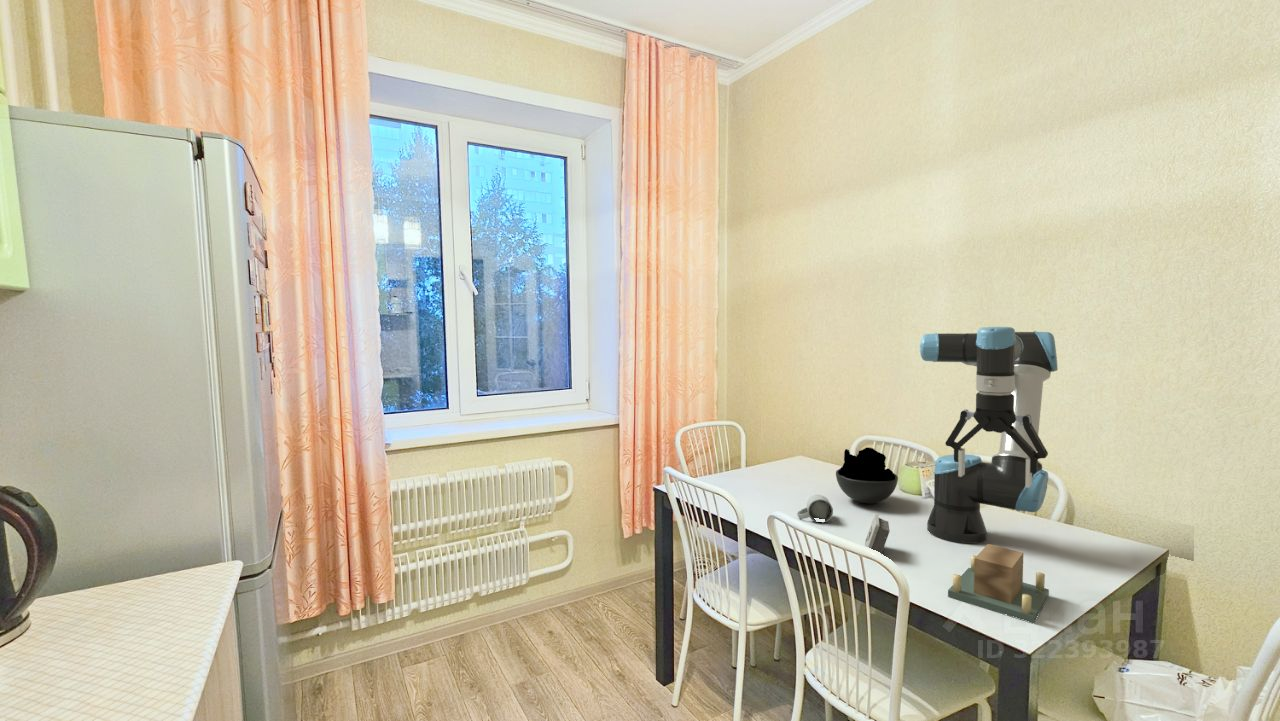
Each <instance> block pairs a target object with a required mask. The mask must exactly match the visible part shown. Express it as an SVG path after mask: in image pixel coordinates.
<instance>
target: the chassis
mask: <svg viewBox="0 0 1280 721" xmlns="http://www.w3.org/2000/svg"><path fill="white" fill-rule="evenodd" d="M976 556H977V555H974V554H972V555H971V556H970V567H968V568H967V569H966V570H965V571H964V572H963V573H962V574H961V575H960V574H957V573H955V574H952V585H951V586H950V587H949V588H948V590H947V597H948V598H951V599H955V600H958V601H959V602H963V603H966V604H970V605H972V606H977V607H980V608H983V609H986V610H990V611H992V612H994V613H995V612H996V613H999V614H1002V615H1005V614H1007V615H1006V616H1008V615H1010V616H1009V617H1011V616H1014V617H1017V618H1020V619H1019V620H1021V619H1024V620H1027V621H1029V622H1028V623H1030V622H1032V623H1031V624H1033V623H1034V622H1035V623H1036V621H1037V619H1038V617H1039V615H1040V613H1041V612H1042V610H1041V609H1043V608H1044V606H1045V604H1046V602H1047V600H1048V598H1049V596H1050V589H1049V588H1045V583H1046V582H1045V578H1046V574H1045V573H1044V572H1041V571H1040V572H1039V571H1036V572H1035V585H1034V584H1030V583H1027V582H1024V581H1023V587H1022V588H1021V590H1020V591H1019V593H1018V594H1017V596H1016V597H1015V599H1014V600H1013V602H1012V603H1011V604H1009V603H1006V602H1003V601H999V600H996V599H993V598H989V597H986V596H983V595H979V594H976V593H974V565H975V557H976ZM1045 601H1046V602H1045ZM1044 603H1045V604H1044ZM1043 605H1044V606H1043ZM1042 607H1043V608H1042ZM1038 614H1039V615H1038ZM1037 616H1038V617H1037ZM1014 617H1013V618H1014ZM1017 618H1016V619H1017ZM1036 618H1037V619H1036ZM1024 620H1023V621H1024ZM1035 620H1036V621H1035ZM1027 621H1026V622H1027ZM1035 623H1034V624H1035Z"/></svg>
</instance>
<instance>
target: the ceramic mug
mask: <svg viewBox="0 0 1280 721" xmlns="http://www.w3.org/2000/svg"><path fill="white" fill-rule="evenodd" d="M796 515H797V518H798V517H799V518H801V519H800V520H804V519H808V518H810V520H811V521H813V522H814V521H816V520H815V519H814V518H819V519H825V522H826V523H827V522H829V521H830V520H831V519H832V518H833V515H834V508H833V506H832V504H831V502H830V501H829V499H828V498H827V497H826V496H825V495H822V494H814V495H812V496H810V497H809V498H808V499H807V501H806V507H804V508H801V509H800V510H798V511H797V513H796ZM799 518H798V519H799Z"/></svg>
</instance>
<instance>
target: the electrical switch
mask: <svg viewBox="0 0 1280 721" xmlns="http://www.w3.org/2000/svg"><path fill="white" fill-rule="evenodd" d="M871 520H872V521H871V524H870V526H869V529H868V531H867V534H866V538H865V542H864V547H865V546H866V547H869V548H871V549H873V550H876V551H878V552H880V553H882V554H883V551H884V549H885V545H886V543H887V540H888V537H889V533H890V532H891V531H890V526H889V525H890V523H889V520H885V519H883V518H882V517H881V518H880V517H879V514H877V513H875V514H874V515H873V518H872V519H871Z"/></svg>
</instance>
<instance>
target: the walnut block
mask: <svg viewBox="0 0 1280 721" xmlns="http://www.w3.org/2000/svg"><path fill="white" fill-rule="evenodd" d="M975 556H976V557H975V565H974V593H976V594H979V595H983V596H986V597H989V598H993V599H996V600H999V601H1003V602H1006V603H1009V604H1011V603H1012V602H1013V600H1014V599H1015V597H1016V596H1017V594H1018V593H1019V591H1020V590H1021V588H1022V587H1023V582H1024V581H1023V580H1024V579H1023V578H1024V552H1023V551H1019V550H1015V549H1011V548H1007V547H1002V546H999V545H994V544H990V543H987V544H986V545H985V546H984V548H983V549H982V550H981V551H980V552H979V553H978V554H977V555H975Z"/></svg>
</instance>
